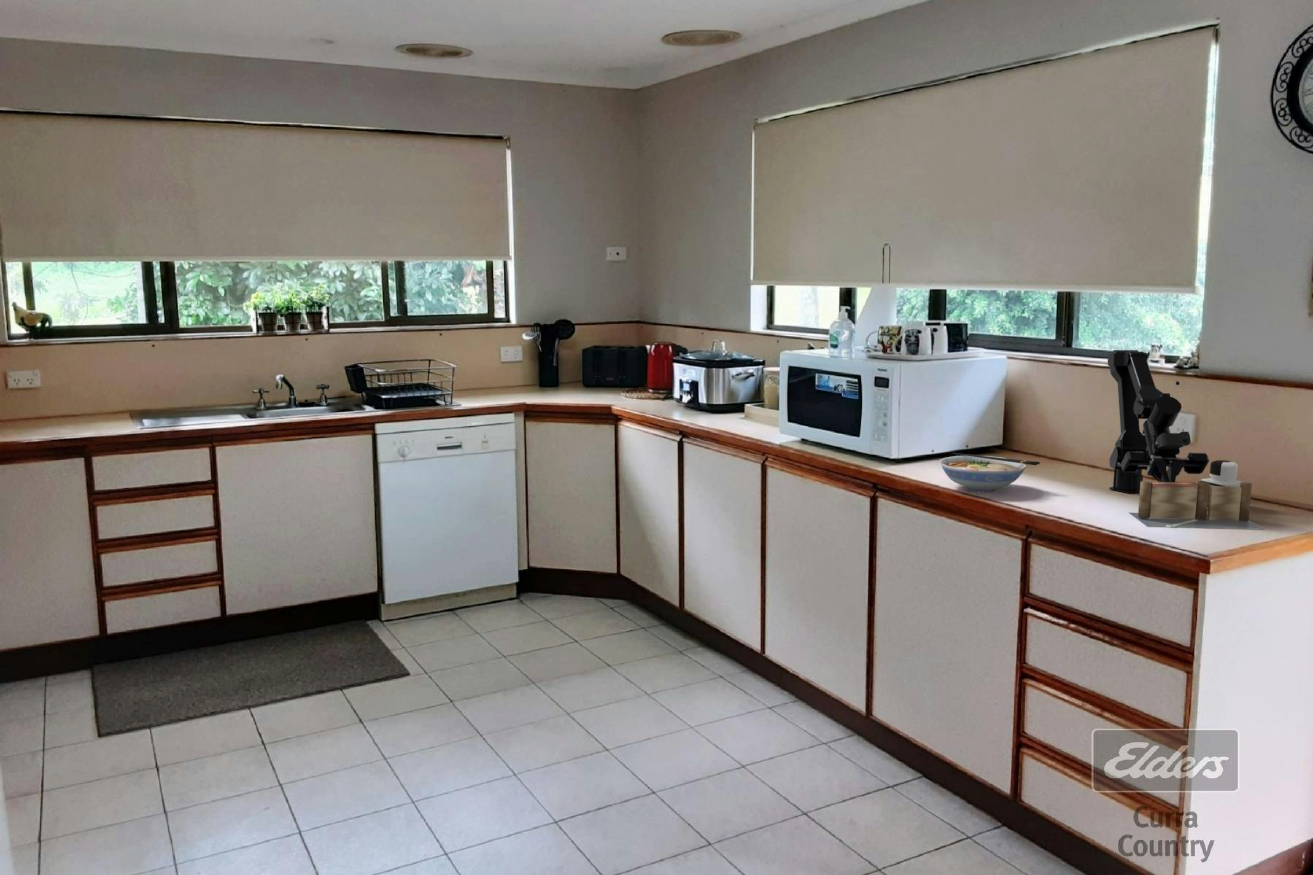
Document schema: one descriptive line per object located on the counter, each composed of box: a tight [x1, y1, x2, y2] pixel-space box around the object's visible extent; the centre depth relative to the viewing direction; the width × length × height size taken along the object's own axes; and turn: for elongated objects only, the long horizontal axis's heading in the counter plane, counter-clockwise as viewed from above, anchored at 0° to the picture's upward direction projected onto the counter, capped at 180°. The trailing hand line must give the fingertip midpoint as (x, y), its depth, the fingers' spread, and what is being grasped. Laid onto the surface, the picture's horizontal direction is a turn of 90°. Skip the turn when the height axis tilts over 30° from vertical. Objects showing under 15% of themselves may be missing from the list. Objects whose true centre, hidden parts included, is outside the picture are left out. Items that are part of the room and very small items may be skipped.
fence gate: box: [1137, 480, 1198, 518], centre depth 246 cm, size 13×2×9 cm, turn 88°
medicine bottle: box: [1200, 459, 1243, 508], centre depth 258 cm, size 7×7×12 cm
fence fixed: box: [1195, 480, 1253, 521], centre depth 245 cm, size 12×2×9 cm, turn 83°
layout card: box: [1128, 512, 1267, 531], centre depth 245 cm, size 26×14×1 cm, turn 83°
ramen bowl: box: [939, 452, 1041, 493], centre depth 282 cm, size 25×23×8 cm
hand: (1171, 491), depth 247 cm, fingers closed, pressing on fence gate
